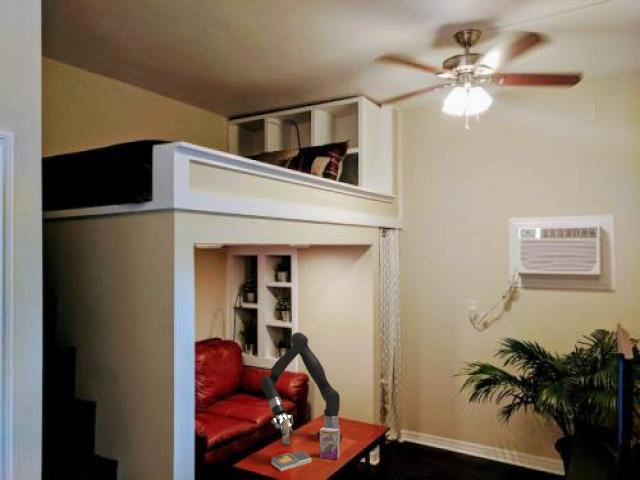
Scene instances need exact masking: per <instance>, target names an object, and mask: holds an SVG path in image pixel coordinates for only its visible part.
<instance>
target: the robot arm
mask: <svg viewBox="0 0 640 480" xmlns="http://www.w3.org/2000/svg"><path fill="white" fill-rule="evenodd" d="M290 338H291V339H290V341H291V344H292V345H291V346H290V347H289V349H288V350H287V352H285V353H284V354H283V355H282V356H281V357H279V358H278V360H277V361H276V362H275V363H274V364H273V366H272V367H271V368H270V375H269V376H268V375H263V376H261V378H260V380H259V381H260V382H259V384H260V387H261V389H262V391H263V392H264V394H265V395H266V399H267V401H268V404H269V407H270V411H271V412H272V415H273V419H271V421H270V423H271V425H272V426H273V427H274V428H275V429H276V430H277V431H278V430H279V431H280V434H281V435H282V437H283V436H284V435H285V431H284V429H283V426H282V420H283V419H285V418H287V419H289V429H290V434H293V431H294V430H293V428H292V426H293V424H294V417H293V414H288V413H287V410H286V409H285V406H284V403H283V401H282V399H281V396H280V394H279V392H278V390H277V389H276V388H275V387H276V386H277V384H278V381H279V380H280V376H282V374H283V372H285V370H286V369H287V368H288V366H289V365H290V364H291V363H292V361H294V359H295V358H296V357H297V356H298V355H299V356H300V358H301V360H302V362H303V364H304V366H305V368H306V371H307V372H308V374H309V376H310V377H311V379H312V380H313V382H314V383H315V385H316V386H317V388H318V390H319V392H320V396H321V398H322V399H323V401H324V402H325V408H324V409H323V428H331V429H339V442H340V441H341V428H340V427H341V426H340V425H339V423H340V422H339V411H340V407H341V406H340V404H341V403H340V401H341V397H340V393H339V392H338V391H337V390H336V389H334V388H333V387H332V385H331V384H330V382H329V381H328V379H327V376H326V372H325V370H324V367H323V365H322V364H321V362H320V360H319V358H317V356H316V355H315V353H313V351H312V350H311V348H310V346H309V345H308V344H309V340H308V337H307V336H306V335H305V334H303V333H302V332H298V331H297V332H295V333H293V334H292V335H291V337H290Z"/></svg>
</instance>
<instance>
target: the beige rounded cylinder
mask: <svg viewBox="0 0 640 480" xmlns="http://www.w3.org/2000/svg"><path fill="white" fill-rule="evenodd" d="M289 423H290V421H289V418H285V419H283V420H282V426H283V429H284V431H285V435H284V436H283V435H282V441H281V442H280V443H281V444H280V445H281V446H282V447H290V446H291V445H292V441H291V439H290V438H291V437H290V429H289Z"/></svg>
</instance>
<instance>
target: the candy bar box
mask: <svg viewBox="0 0 640 480" xmlns="http://www.w3.org/2000/svg"><path fill="white" fill-rule="evenodd" d="M319 458H320V459H327V460H334V461H335V460H338V459H339V458H340V441H339V429H331V428H324V427H321V428H320V429H319Z"/></svg>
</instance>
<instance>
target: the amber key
mask: <svg viewBox="0 0 640 480" xmlns="http://www.w3.org/2000/svg"><path fill="white" fill-rule="evenodd" d="M276 460H278V461H279V462H280V463H286V462H289V461H292V460H293V459H291V458H290V457H289V456H283V457H280V458H276Z"/></svg>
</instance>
